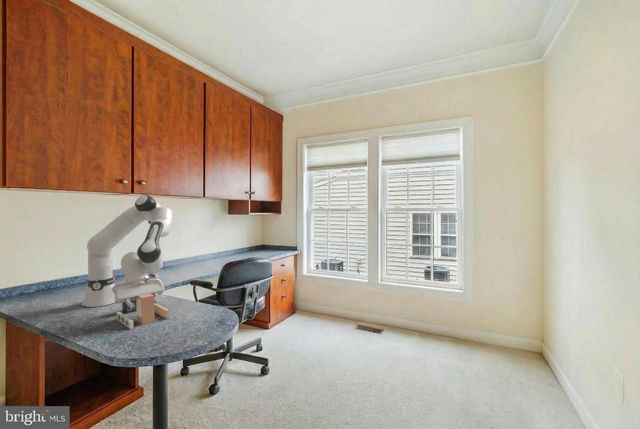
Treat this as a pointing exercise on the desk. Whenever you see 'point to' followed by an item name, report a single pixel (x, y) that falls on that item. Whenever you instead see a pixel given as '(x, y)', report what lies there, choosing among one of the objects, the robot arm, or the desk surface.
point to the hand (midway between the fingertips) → (144, 305)
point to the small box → (128, 307)
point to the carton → (145, 308)
